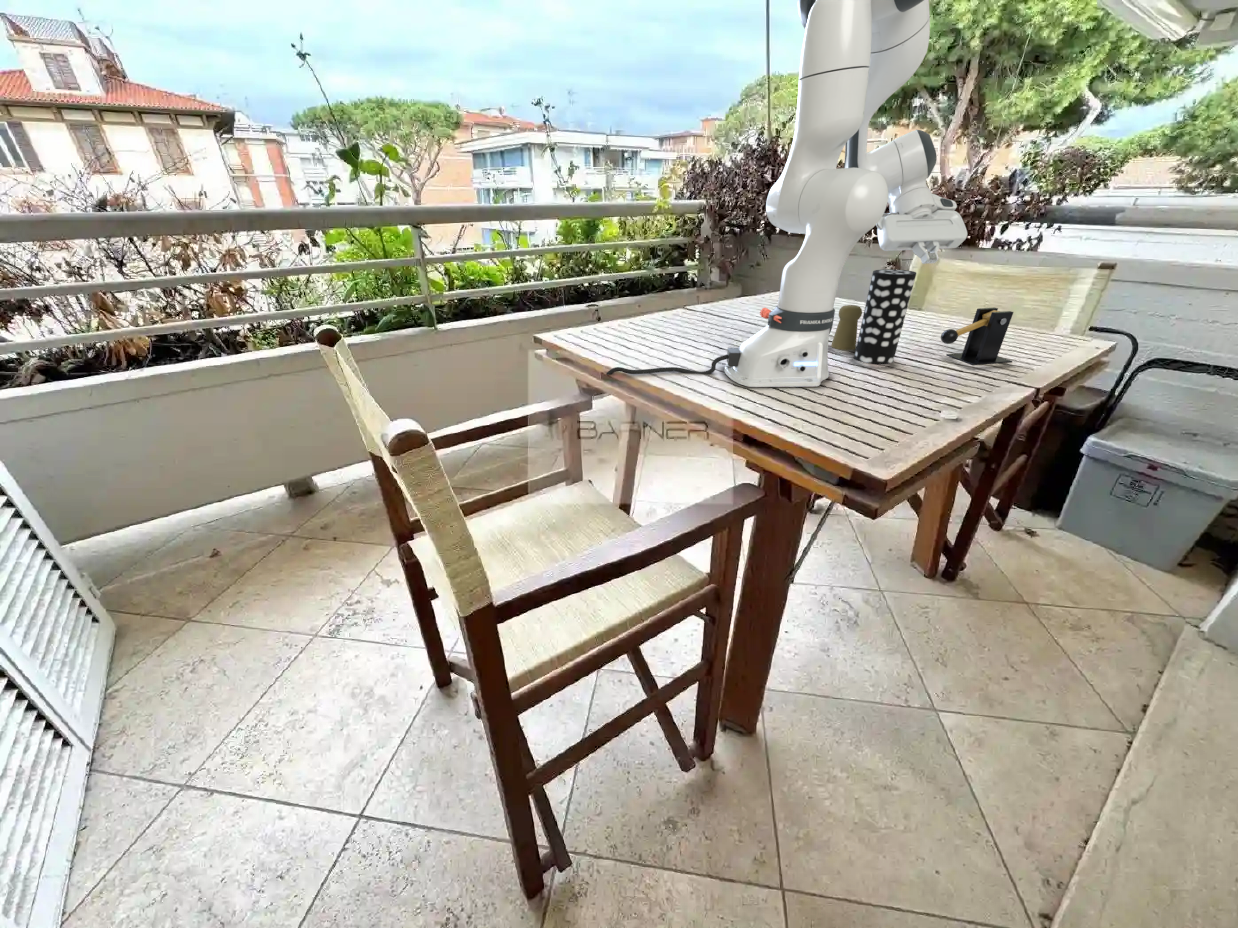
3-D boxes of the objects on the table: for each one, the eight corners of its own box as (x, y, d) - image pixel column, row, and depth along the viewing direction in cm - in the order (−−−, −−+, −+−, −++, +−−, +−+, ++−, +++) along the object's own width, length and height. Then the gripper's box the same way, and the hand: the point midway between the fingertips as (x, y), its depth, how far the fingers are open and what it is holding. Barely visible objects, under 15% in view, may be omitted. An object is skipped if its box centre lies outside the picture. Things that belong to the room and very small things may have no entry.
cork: (860, 352, 120) (870, 307, 115) (838, 354, 120) (847, 308, 114) (846, 346, 126) (855, 302, 120) (825, 348, 125) (833, 304, 119)
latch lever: (947, 347, 107) (947, 334, 105) (937, 344, 110) (937, 331, 108) (1004, 324, 106) (1004, 310, 105) (992, 321, 109) (992, 307, 107)
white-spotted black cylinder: (884, 357, 116) (906, 269, 107) (898, 368, 109) (923, 274, 99) (848, 357, 117) (867, 269, 108) (860, 368, 110) (881, 275, 100)
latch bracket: (971, 369, 108) (989, 315, 102) (944, 359, 115) (960, 307, 109) (1010, 366, 109) (1031, 312, 103) (982, 356, 116) (1000, 305, 110)
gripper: (881, 203, 110) (898, 254, 106) (962, 201, 113) (981, 250, 109) (865, 224, 116) (880, 272, 112) (942, 221, 119) (959, 269, 115)
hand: (930, 261), depth 111 cm, fingers closed
